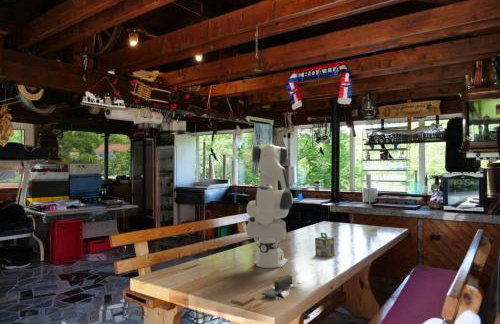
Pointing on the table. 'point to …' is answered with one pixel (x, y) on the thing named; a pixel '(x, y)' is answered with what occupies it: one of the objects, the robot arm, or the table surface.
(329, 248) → the chalk box
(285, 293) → the cloth
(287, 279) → the turner
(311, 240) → the table surface
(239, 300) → the tile
